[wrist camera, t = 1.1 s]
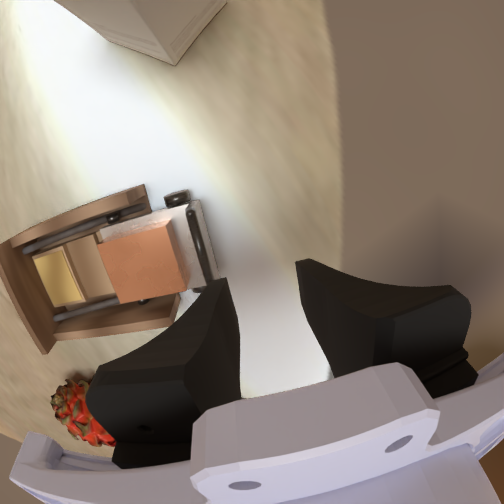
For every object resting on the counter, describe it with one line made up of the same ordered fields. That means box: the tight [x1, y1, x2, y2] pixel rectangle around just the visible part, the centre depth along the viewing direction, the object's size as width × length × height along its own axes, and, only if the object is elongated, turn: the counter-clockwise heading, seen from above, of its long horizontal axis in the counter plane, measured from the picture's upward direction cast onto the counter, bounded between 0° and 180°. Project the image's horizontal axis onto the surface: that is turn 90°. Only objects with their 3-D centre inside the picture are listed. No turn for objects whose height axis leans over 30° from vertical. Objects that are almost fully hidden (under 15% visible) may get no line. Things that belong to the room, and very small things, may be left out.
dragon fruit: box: [50, 379, 116, 447], centre depth 24 cm, size 8×8×12 cm
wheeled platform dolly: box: [97, 190, 220, 305], centre depth 19 cm, size 8×8×5 cm
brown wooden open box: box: [0, 184, 181, 355], centre depth 18 cm, size 13×10×6 cm
